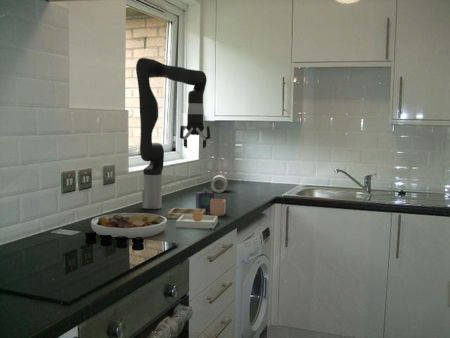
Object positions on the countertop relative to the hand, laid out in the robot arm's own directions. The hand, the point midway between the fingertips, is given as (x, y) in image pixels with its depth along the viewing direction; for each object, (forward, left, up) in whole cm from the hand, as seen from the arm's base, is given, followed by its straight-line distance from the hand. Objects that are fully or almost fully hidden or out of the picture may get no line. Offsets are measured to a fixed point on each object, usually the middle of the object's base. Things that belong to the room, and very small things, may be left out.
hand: (195, 147), depth 233 cm
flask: (+3, +14, -32) cm, 35 cm away
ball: (+5, -21, -29) cm, 36 cm away
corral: (-3, -3, -32) cm, 32 cm away
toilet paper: (+3, +78, -32) cm, 85 cm away
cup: (+11, +3, -32) cm, 34 cm away
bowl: (-20, -39, -33) cm, 55 cm away
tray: (+5, -21, -32) cm, 39 cm away
